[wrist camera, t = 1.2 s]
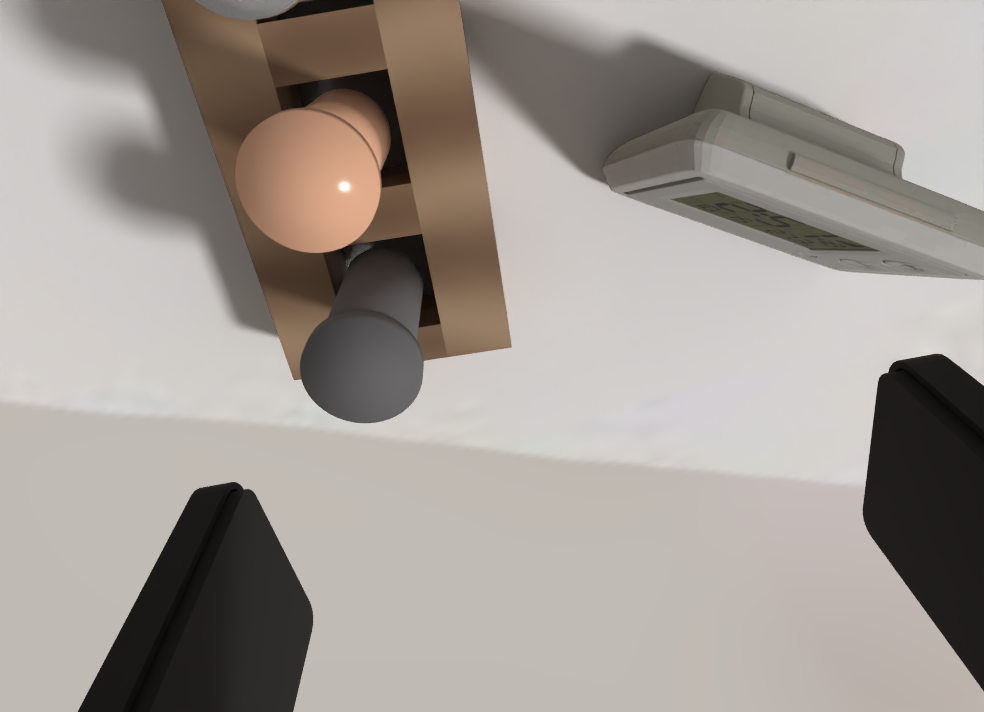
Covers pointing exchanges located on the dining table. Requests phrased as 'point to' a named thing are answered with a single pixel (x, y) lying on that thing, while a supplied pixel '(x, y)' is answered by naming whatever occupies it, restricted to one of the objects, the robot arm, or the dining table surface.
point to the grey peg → (249, 7)
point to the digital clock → (798, 186)
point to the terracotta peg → (315, 171)
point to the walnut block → (405, 189)
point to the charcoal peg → (368, 341)
